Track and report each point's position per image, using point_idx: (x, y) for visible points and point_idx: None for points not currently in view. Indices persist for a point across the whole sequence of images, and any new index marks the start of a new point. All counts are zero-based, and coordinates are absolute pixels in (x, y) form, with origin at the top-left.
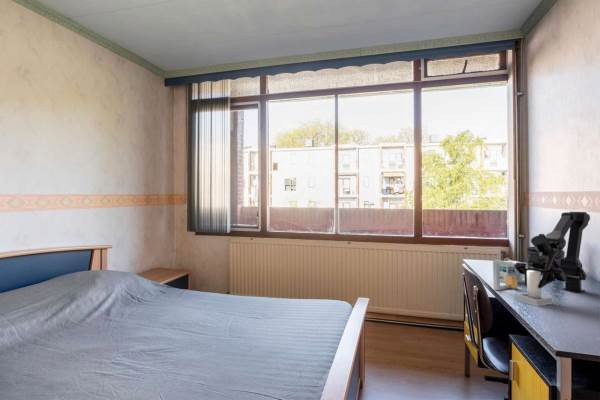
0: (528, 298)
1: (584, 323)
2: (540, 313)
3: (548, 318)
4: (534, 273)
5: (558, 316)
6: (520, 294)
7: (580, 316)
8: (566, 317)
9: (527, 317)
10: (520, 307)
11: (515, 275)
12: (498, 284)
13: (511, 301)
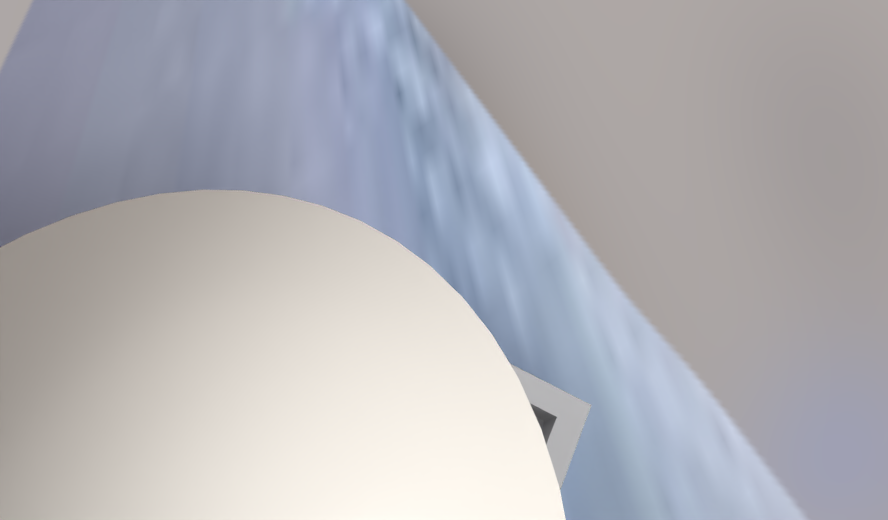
0: None
1: (43, 95)
2: (310, 122)
3: (259, 56)
4: (147, 220)
5: (190, 133)
6: (553, 441)
7: (17, 236)
8: (136, 145)
9: (379, 3)
10: (466, 173)
11: None
12: None
13: (590, 309)
